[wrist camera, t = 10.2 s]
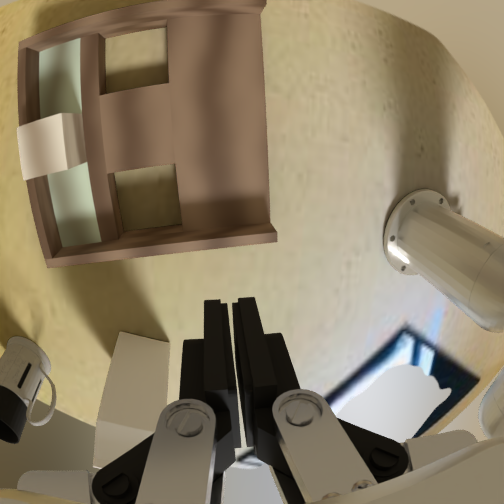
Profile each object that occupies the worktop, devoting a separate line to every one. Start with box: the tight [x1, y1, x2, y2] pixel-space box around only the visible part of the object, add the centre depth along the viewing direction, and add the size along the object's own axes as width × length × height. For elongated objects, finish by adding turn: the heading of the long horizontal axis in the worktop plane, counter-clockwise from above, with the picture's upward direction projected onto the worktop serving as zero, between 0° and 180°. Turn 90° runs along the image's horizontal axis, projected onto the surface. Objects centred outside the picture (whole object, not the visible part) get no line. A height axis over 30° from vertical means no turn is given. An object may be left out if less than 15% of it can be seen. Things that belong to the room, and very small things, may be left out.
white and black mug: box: [0, 336, 56, 444], centre depth 30 cm, size 9×14×15 cm, turn 98°
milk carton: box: [93, 331, 170, 469], centre depth 31 cm, size 7×7×19 cm
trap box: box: [18, 0, 277, 268], centre depth 26 cm, size 24×24×6 cm
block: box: [17, 113, 87, 181], centre depth 23 cm, size 5×5×5 cm
